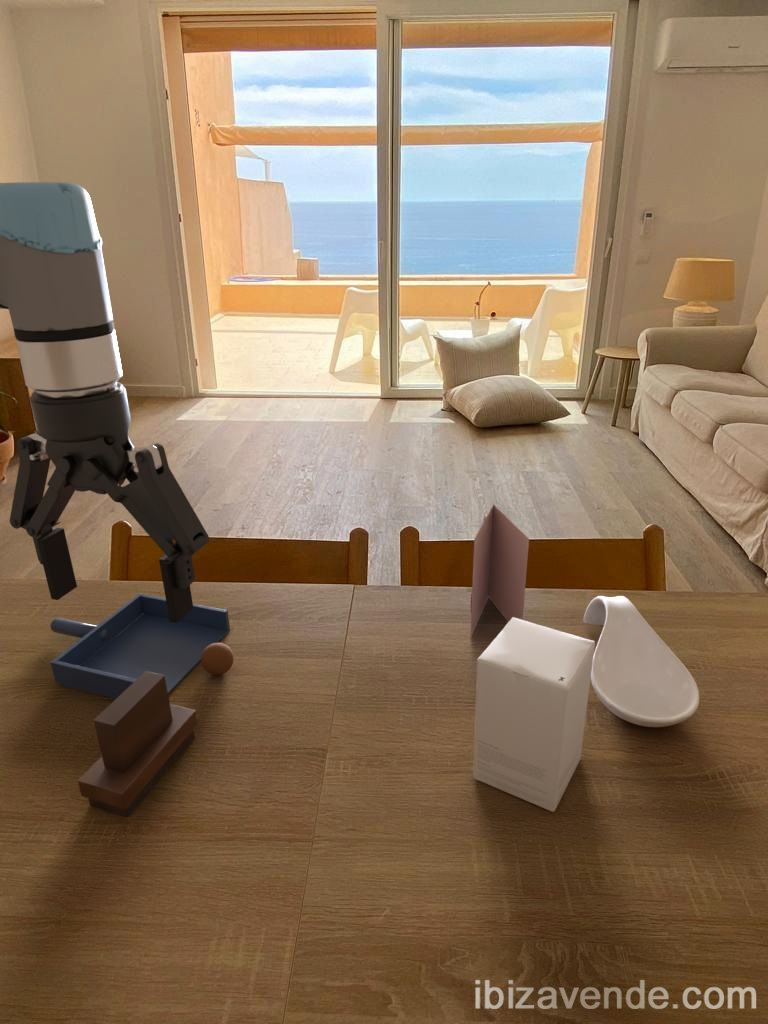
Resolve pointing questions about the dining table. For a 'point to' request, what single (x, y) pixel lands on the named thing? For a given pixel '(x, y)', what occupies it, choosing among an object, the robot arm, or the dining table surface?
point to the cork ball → (217, 658)
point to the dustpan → (136, 646)
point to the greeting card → (499, 567)
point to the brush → (136, 745)
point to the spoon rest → (637, 668)
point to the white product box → (531, 711)
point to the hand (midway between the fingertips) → (121, 604)
